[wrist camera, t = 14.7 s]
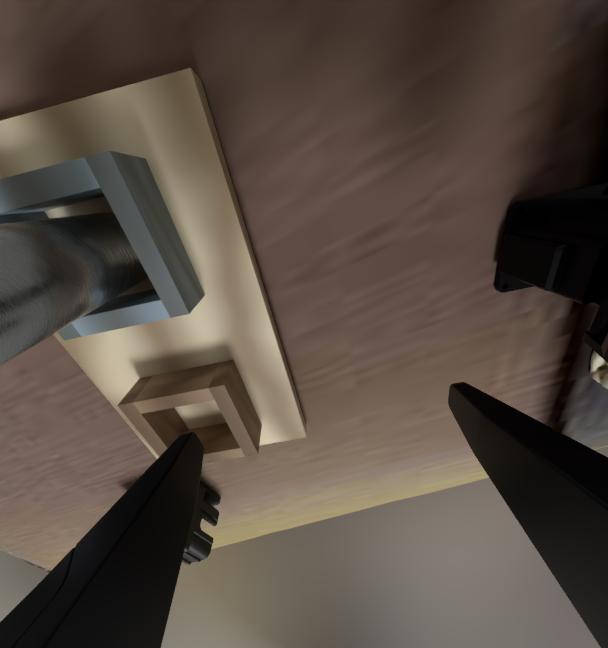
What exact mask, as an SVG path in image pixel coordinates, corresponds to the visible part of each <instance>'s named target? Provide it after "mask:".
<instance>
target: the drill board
mask: <svg viewBox="0 0 608 648" xmlns="http://www.w3.org/2000/svg"><path fill="white" fill-rule="evenodd" d="M101 212H111V213H114V214H115V215H116V217H117V219H118V221H119V223H120V225H121V227H122V229H123V230H124V232H125V234H126V236H127V238H128V240H129V242H130V243H131V245H132V247H133V249H134V251H135V253H136V255H137V256H138V258H139V260H140V262H141V264H142V266H143V268H144V269H145V271H146V273H147V275H148V278H147V279H145V280H143V281H142V282H140V283H138V284H137V285H135V286H133V287H132V288H130V289H128V290H127V291H125V292H123V293H122V294H120V295H118V296H117V297H115V298H113V299H111V300H110V301H108V302H106V303H105V304H103V305H101V306H100V307H98V308H96V309H95V310H93V311H91V312H90V313H88V314H86V315H85V316H83V317H81V318H80V319H78V320H76V321H75V322H73V323H71V324H69V325H68V326H66V327H64V328H63V329H61V330H59V331H58V332H56V333H54V336H55V337H56V338H57V339H58V340H59V342H60V343H61V344H62V345H63V346H64V348H65V349H66V350H67V351H68V352H69V354H70V355H71V356H72V357H73V358H74V360H75V361H76V362H77V363H78V364H79V366H80V367H81V368H82V369H83V370H84V372H85V373H86V374H87V375H88V376H89V378H90V379H91V380H92V381H93V382H94V384H95V385H96V386H97V387H98V388H99V390H100V391H101V392H102V393H103V394H104V396H105V397H106V398H107V399H108V401H109V402H110V403H111V404H112V405H113V407H114V408H115V409H116V410H117V411H118V413H119V414H120V415H121V416H122V417H123V419H124V420H125V421H126V422H127V423H128V425H129V426H130V427H131V428H132V429H133V431H134V432H135V433H136V434H137V435H138V437H139V438H140V439H141V440H142V441H143V443H144V444H145V445H146V446H147V447H148V449H149V450H150V451H151V452H152V453H153V455H154V456H155V457H156V458H157V459H158V458H159V457H160V456H161V455H162V453H163V452H164V451H165V450H166V449H167V448H168V447H169V446H170V445H171V444H172V443H173V442H174V441H175V440H176V439H177V438H178V437H179V436H180V435H181V434H182V433H185V432H191V431H193V432H195V433H196V435H197V436H198V438H199V439H200V441H201V442H202V444H203V446H204V456H203V462H202V464H204V463H209V462H215V461H221V460H227V459H233V458H239V457H244V456H250V455H256V454H258V451H259V445H264V444H270V443H276V442H282V441H287V440H293V439H299V438H305V437H307V435H306V423H305V420H304V417H303V414H302V410H301V407H300V404H299V400H298V397H297V394H296V391H295V387H294V384H293V381H292V377H291V374H290V371H289V368H288V364H287V361H286V358H285V355H284V351H283V348H282V345H281V341H280V338H279V335H278V332H277V328H276V325H275V322H274V318H273V315H272V312H271V309H270V305H269V302H268V299H267V295H266V292H265V289H264V286H263V282H262V279H261V276H260V273H259V269H258V266H257V263H256V259H255V256H254V253H253V250H252V246H251V243H250V240H249V236H248V233H247V230H246V227H245V223H244V220H243V217H242V213H241V210H240V207H239V204H238V200H237V197H236V194H235V191H234V187H233V184H232V181H231V177H230V174H229V171H228V168H227V164H226V161H225V158H224V154H223V151H222V148H221V145H220V141H219V138H218V135H217V131H216V128H215V125H214V122H213V118H212V115H211V112H210V109H209V105H208V102H207V99H206V95H205V92H204V89H203V86H202V82H201V80H200V79H199V77H198V76H197V75H196V74H195V72H194V71H193V70H192V69H191V68H188V69H184V70H181V71H177V72H173V73H170V74H166V75H163V76H159V77H156V78H152V79H148V80H145V81H141V82H138V83H134V84H130V85H127V86H123V87H120V88H116V89H112V90H109V91H105V92H102V93H98V94H94V95H91V96H87V97H84V98H80V99H77V100H73V101H69V102H66V103H62V104H59V105H55V106H51V107H48V108H44V109H41V110H37V111H33V112H30V113H26V114H23V115H19V116H15V117H12V118H8V119H5V120H1V121H0V224H6V223H15V222H24V221H32V220H41V219H49V218H58V217H67V216H75V215H84V214H93V213H101Z"/></svg>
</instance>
